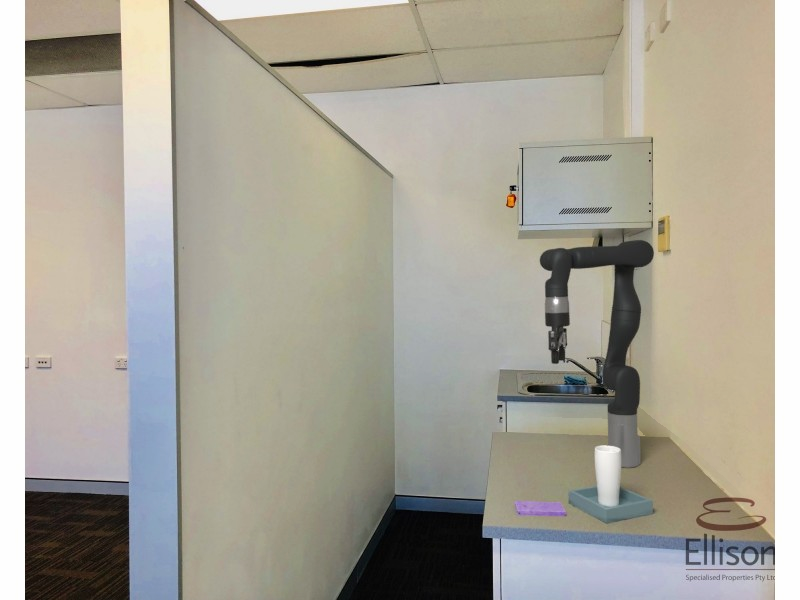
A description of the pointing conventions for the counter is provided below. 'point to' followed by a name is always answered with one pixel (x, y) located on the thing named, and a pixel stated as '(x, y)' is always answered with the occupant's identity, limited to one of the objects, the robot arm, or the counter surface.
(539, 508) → the sponges
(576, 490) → the tray
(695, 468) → the counter surface
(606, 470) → the white paper cup
